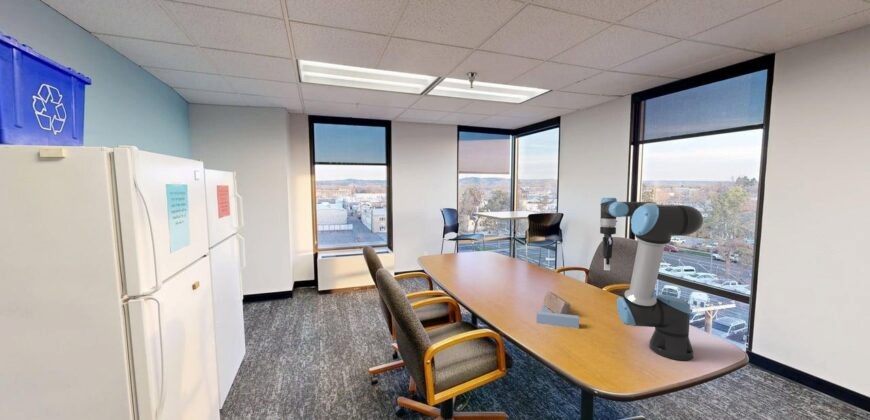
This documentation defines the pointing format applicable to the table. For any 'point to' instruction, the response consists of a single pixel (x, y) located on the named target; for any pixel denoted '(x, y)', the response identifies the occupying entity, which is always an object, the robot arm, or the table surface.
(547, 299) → the brick
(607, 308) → the table surface
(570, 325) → the board
